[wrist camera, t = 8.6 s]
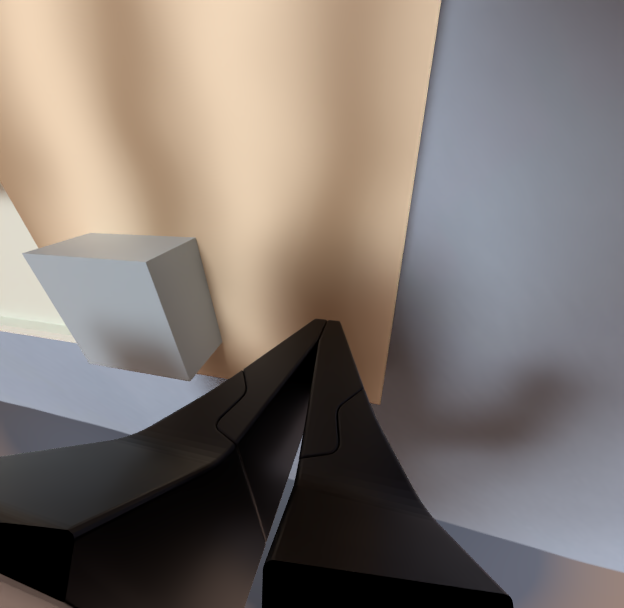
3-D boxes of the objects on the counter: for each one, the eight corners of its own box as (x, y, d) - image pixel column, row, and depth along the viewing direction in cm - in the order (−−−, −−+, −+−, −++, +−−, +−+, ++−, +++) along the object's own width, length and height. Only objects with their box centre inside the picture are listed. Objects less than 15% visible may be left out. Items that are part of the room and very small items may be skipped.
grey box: (195, 237, 10) (145, 262, 8) (222, 341, 13) (190, 381, 10) (90, 232, 11) (21, 253, 9) (134, 330, 14) (89, 363, 12)
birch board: (484, -364, 5) (537, -642, 3) (380, 373, 14) (380, 404, 12) (-97, -132, 8) (-222, -203, 6) (128, 336, 17) (101, 357, 16)
